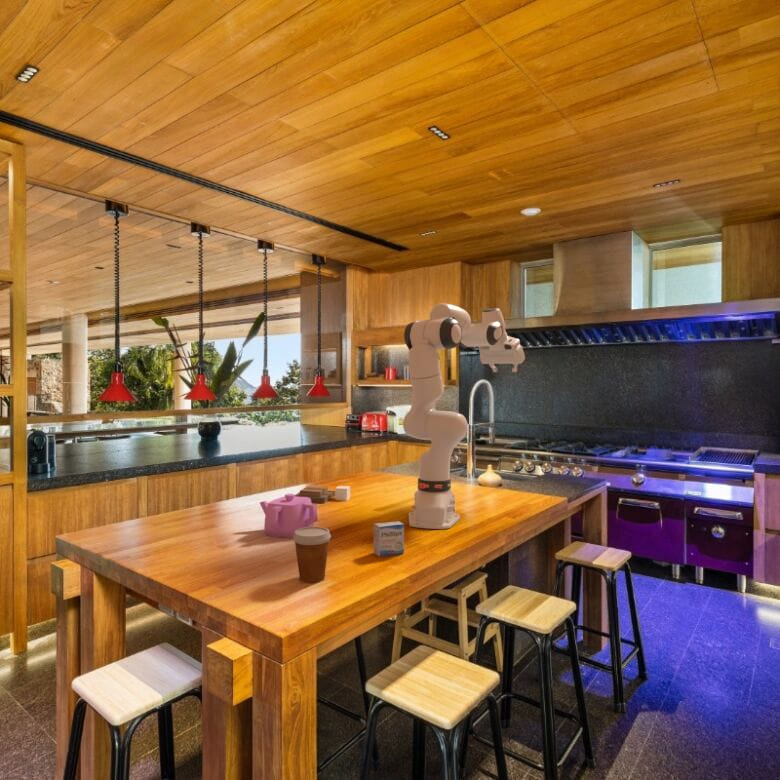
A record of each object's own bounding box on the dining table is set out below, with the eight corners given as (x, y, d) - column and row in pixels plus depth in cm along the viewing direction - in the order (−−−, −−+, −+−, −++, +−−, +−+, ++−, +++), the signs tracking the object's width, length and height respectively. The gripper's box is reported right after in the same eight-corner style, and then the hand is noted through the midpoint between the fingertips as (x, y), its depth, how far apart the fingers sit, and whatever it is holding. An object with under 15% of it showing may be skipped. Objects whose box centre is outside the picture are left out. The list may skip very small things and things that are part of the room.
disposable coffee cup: (285, 582, 132) (285, 534, 132) (305, 569, 141) (305, 524, 141) (319, 587, 129) (319, 538, 128) (337, 574, 137) (337, 528, 137)
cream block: (346, 500, 220) (346, 488, 219) (335, 500, 221) (335, 488, 221) (350, 498, 224) (350, 486, 224) (338, 497, 226) (338, 485, 225)
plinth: (324, 503, 215) (324, 493, 215) (291, 501, 218) (291, 491, 218) (335, 495, 228) (335, 486, 228) (304, 494, 231) (304, 485, 231)
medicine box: (379, 557, 151) (379, 527, 150) (373, 552, 155) (373, 523, 154) (404, 553, 154) (404, 524, 153) (398, 549, 158) (398, 520, 158)
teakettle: (270, 542, 165) (269, 502, 164) (258, 528, 180) (258, 491, 180) (322, 535, 172) (322, 497, 172) (307, 522, 187) (307, 487, 187)
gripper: (474, 347, 235) (481, 374, 241) (516, 345, 222) (523, 375, 227) (480, 341, 239) (487, 368, 245) (522, 339, 226) (529, 368, 232)
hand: (505, 371), depth 236 cm, fingers open, 8 cm apart
